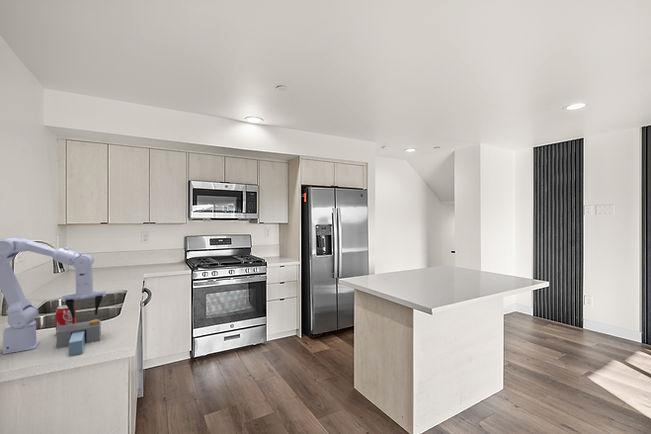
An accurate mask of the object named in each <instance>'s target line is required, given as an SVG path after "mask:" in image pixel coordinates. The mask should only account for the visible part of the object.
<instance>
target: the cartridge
mask: <svg viewBox="0 0 651 434" xmlns="http://www.w3.org/2000/svg"><path fill="white" fill-rule="evenodd" d="M85 344H86V337H85V330H81V331H75V332H73V333H72V335H71V338H70V341H69V346H68V357H72V356H78V355H82V354H83V353H84V352H83V351H84V348H85Z"/></svg>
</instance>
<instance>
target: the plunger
mask: <svg viewBox="0 0 651 434" xmlns="http://www.w3.org/2000/svg"><path fill="white" fill-rule="evenodd" d="M99 320H100V319H97V318H96V319H92V320H89V321H90V323H91V325H93V324H98V322H99Z"/></svg>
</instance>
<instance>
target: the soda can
mask: <svg viewBox="0 0 651 434" xmlns="http://www.w3.org/2000/svg"><path fill="white" fill-rule="evenodd" d="M74 311H75V317H74V318H72V315H71V312H70V310H69V308H68V307H67V305H66V304H61V305H59V306H57V307H56V310H55V315H54V316H55V317H54V318H55V332H56V333H57V331H58V329H59V327H60V326H61V325H68V324H75V323H77V315H76V313H77V312H76V308H75V307H74Z"/></svg>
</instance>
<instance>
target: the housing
mask: <svg viewBox="0 0 651 434" xmlns="http://www.w3.org/2000/svg"><path fill="white" fill-rule="evenodd" d="M98 320H99V322H98V324H93V325H91V323H90V321H91V320H89V321H88V320H87V321H82V322H76V323H75V324H68V325H61V326H60V327H59V329H58V331H57V333H56V334H55V335H56V349H60V348H65V347H66V348H67V347H69V341H70V338H71V335H72V333H73V332H75V331H81V330H85V344H88V343H94V342H100V340H101V334H102V333H101V332H102V331H101V328H102V327H101V325H102V324H101V319H98Z"/></svg>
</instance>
